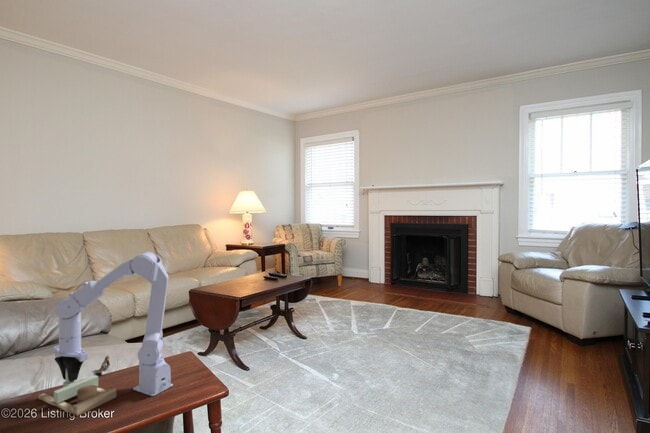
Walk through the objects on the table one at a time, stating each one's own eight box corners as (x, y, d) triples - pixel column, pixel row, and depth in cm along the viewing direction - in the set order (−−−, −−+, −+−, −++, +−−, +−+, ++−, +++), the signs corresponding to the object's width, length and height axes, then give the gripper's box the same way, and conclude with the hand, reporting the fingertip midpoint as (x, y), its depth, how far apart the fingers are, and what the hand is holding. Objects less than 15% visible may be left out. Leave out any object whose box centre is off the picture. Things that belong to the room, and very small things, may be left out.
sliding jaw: (98, 385, 119) (98, 364, 118) (57, 403, 108) (57, 379, 108) (87, 381, 121) (87, 360, 121) (46, 398, 110) (46, 375, 110)
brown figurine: (112, 363, 137) (110, 354, 135) (103, 381, 130) (100, 371, 128) (107, 363, 137) (105, 354, 135) (98, 381, 129) (95, 372, 127)
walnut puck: (100, 400, 113) (100, 387, 112) (83, 408, 108) (83, 394, 108) (90, 396, 115) (90, 383, 115) (73, 404, 110) (73, 390, 110)
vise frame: (116, 397, 114) (116, 389, 114) (77, 415, 104) (77, 407, 104) (77, 382, 123) (77, 375, 123) (38, 398, 113) (38, 390, 113)
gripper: (42, 335, 114) (42, 379, 115) (70, 344, 108) (70, 390, 108) (66, 329, 121) (67, 370, 121) (94, 336, 114) (94, 380, 115)
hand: (70, 379), depth 115 cm, fingers closed on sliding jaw, 2 cm apart
